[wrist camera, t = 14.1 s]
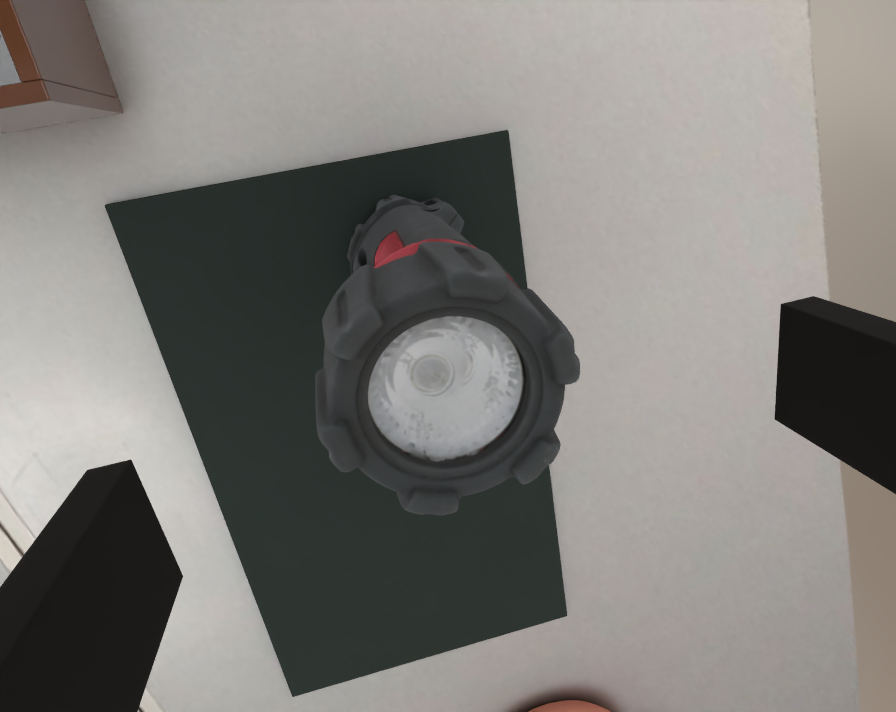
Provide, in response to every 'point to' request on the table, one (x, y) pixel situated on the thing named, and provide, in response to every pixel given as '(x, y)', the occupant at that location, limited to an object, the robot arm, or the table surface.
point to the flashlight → (438, 363)
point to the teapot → (569, 707)
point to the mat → (294, 413)
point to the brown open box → (53, 66)
